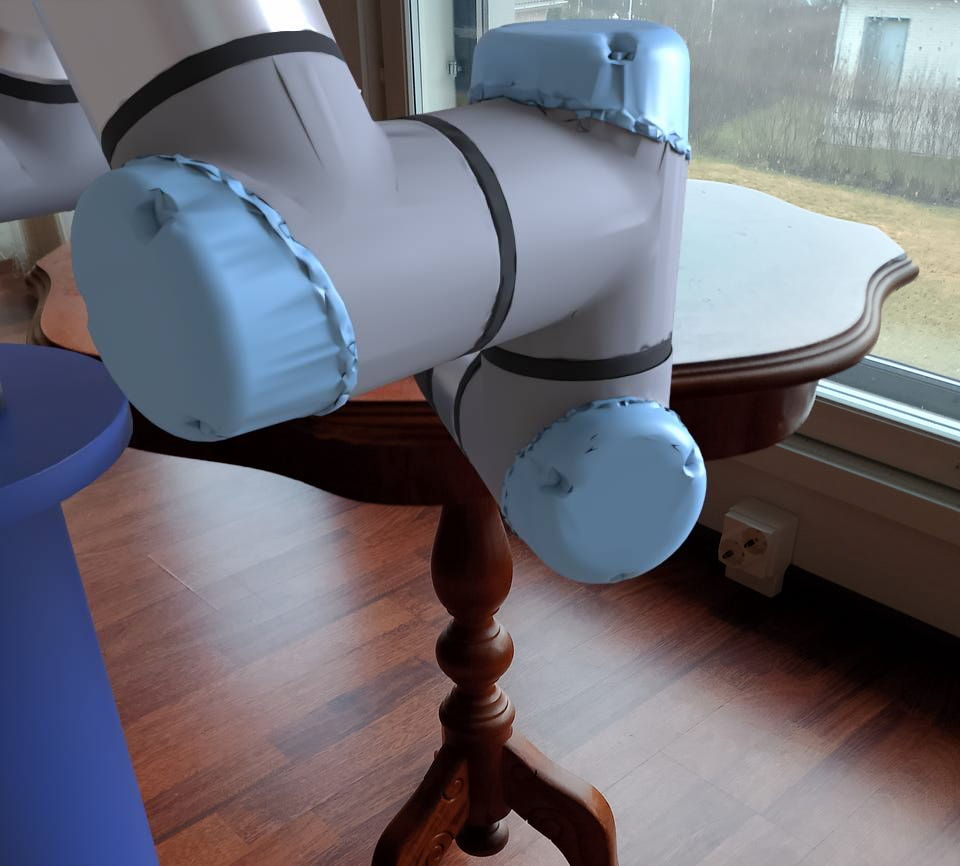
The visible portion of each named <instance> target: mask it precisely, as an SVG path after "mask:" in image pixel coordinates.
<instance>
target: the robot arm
mask: <svg viewBox="0 0 960 866" xmlns="http://www.w3.org/2000/svg"><path fill="white" fill-rule="evenodd" d="M331 29H332V28H331V27H330V24H329V23H328V20H327V18H326V15H325V13H324V11H323V8H322V6H321V4H320V1H319V0H0V224H4V223H10V222H16V221H21V220H22V221H23V220H27V219H31V218H38V217H43V216H49V215H54V214H61V213H65V212H67V213H69V212H73V217H72V220H71V226H70V237H69V242H70V259H71V269H72V275H73V278H74V283H75V288H76V290H77V291H78V293H79V294H80V296H81V297H82V300H83V302H84V304H85V308H86V313H87V322H86V328H87V331H88V333H89V336H90V338H91V341H92V342H93V344H94V347H95V349H96V352H97V353H98V356H99V357H100V359H101V362H102V363H104V365H105V367H106V368H107V370H108V372H109V373H110V375H111V377H112V378H113V380H114V381H115V382H116V384H117V385H118V386H119V388H120V389H121V390H122V392H123V393H124V394H125V396H126V397H127V399H128V401H129V403H130V404H131V405H132V406H134V408H135V409H136V410H137V411H138V412H140V414H142V415H143V416H144V418H146V419H147V420H148V421H150V422H151V424H154V425H155V426H156V427H158V428H159V429H161V430H163V431H165V432H166V433H169V434H171V435H173V436H174V437H178V438H181V439H183V440H188V441H192V442H211V443H212V442H218V441H223V440H227V439H231V438H233V437H236V436H241V435H244V434H246V433H249V432H253V431H257V430H260V429H263V428H266V427H270V426H273V425H276V424H280V423H283V422H288V421H290V420H294V419H301V418H305V417H309V416H312V415H313V416H318V417H323V416H325V415H328V414H330V413H332V412H334V411H337V410H338V409H339V408H340V407H342V406H343V405H345V404H346V402H347V401H348V400H351V399H353V398H356V397H358V396H361V395H365V394H366V393H369V392H372V391H374V390H377V389H380V388H382V387H385V386H388V385H390V384H392V383H393V384H394V383H396V382H398V381H401V380H403V379H406V378H409V377H411V376H412V377H413V379H414V381H415V383H416V385H417V387H418V389H419V391H420V392H421V395H422V396H423V398H424V399H425V401H426V402H427V403H428V405H429V406H430V407H431V409H432V410H433V412H434V413H435V414H436V416H437V418H438V419H439V420H440V421H441V423H442V424H443V425H444V426H445V428H446V429H447V431H448V432H449V434H450V435H451V437H452V438H453V440H454V442H455V443H456V445H457V446H458V447H459V449H460V450H461V452H462V453H463V455H464V456H465V458H467V460H468V461H469V464H470V465H471V466H472V467H473V468H474V469H475V470H476V472H477V474H478V476H479V477H480V479H481V481H482V482H483V483H484V485H485V486H486V488H487V490H488V491H489V493H490V495H492V497H493V499H494V501H495V502H496V504H497V505H498V507H499V509H500V512H501V514H502V517H505V518H504V522H505V523H506V524H507V525H508V526H509V528H510V530H511V531H512V533H513V534H514V535H515V536H516V537H517V538H518V539H520V540H521V541H523V542H525V544H526V545H527V546H528V547H529V548H530V550H531V551H532V552H533V553H534V554H535V555H536V556H537V558H539V560H540V561H541V562H542V563H543V564H544V565H545V566H546V567H548V568H549V569H550V570H552V571H553V572H555V573H556V574H558V575H560V576H562V577H564V578H566V579H569V580H572V581H574V582H579V583H582V584H589V585H600V584H601V585H602V584H616V583H619V582H622V581H626V580H629V579H633V578H636V577H639V576H641V575H643V574H645V573H648V572H649V571H651V570H653V569H654V568H656V567H657V566H659V565H661V564H662V563H663V562H664V561H666V560H667V559H668V558H669V557H671V556H672V555H673V554H674V553H675V552H676V551H677V550H678V549H679V548H680V547H681V545H682V544H683V543H684V542H685V540H687V538H688V536H689V535H690V533H691V532H692V530H693V528H694V526H695V525H696V522H697V521H698V519H699V516H700V514H701V512H702V509H703V505H704V501H705V499H706V498H705V497H706V493H707V492H706V491H707V471H706V468H705V467H706V466H705V463H704V458H703V456H702V453H701V450H700V447H699V446H698V444H697V442H695V439H694V437H693V436H692V435H691V433H690V432H689V431H688V428H687V427H686V425H685V424H684V423H683V422H682V419H681V416H680V415H679V414H678V413H677V412H675V411H674V410H671V409H670V396H671V382H672V372H673V371H672V370H673V360H674V359H673V358H674V347H673V343H672V341H673V332H674V323H675V312H676V301H677V289H678V278H679V268H680V257H681V245H682V236H683V235H682V234H683V223H684V214H685V204H686V191H687V182H688V181H687V180H688V172H689V171H688V170H689V165H690V162H691V160H692V146H691V145H690V142H689V115H690V114H689V111H690V110H689V109H690V108H689V107H690V75H691V74H690V73H691V65H690V64H691V59H690V53H689V49H688V46H687V44H686V42H685V41H684V38H682V37H681V36H680V34H679V33H678V32H677V31H675V30H674V29H673V28H671V27H670V26H668V25H665V24H662V23H659V22H656V21H655V22H654V21H647V20H639V19H619V18H565V19H564V18H563V19H546V20H533V21H521V22H514V23H513V22H512V23H506V24H503V25H501V26H498V27H493V28H490V29H489V30H487V31H486V32H485V33H483V34H482V35H481V36H480V37H479V39H478V40H477V42H476V44H475V47H474V51H473V55H472V66H471V75H470V76H471V78H470V87H469V88H468V89H467V102H468V104H466V105H461V106H456V107H451V108H444V109H440V110H433V111H428V112H423V113H415V114H409V115H403V116H397V117H394V118H389V119H386V120H378V121H377V120H376V121H375V120H373V119H372V117H371V114H370V112H369V109H368V108H367V106H366V103H365V101H364V98H363V96H362V94H361V93H360V91H359V89H360V88H359V87H358V86H357V83H356V81H355V78H354V77H353V75H352V73H351V70H350V69H349V67H348V64H347V62H346V60H345V57H344V55H343V53H342V50H341V48H340V46H339V44H338V43H337V42H336V39H335V37H334V33H333V32H332V30H331ZM5 406H6V401H5V397H4V393H3V390H2V386H1V383H0V416H1V415H2V413H3V412H4V409H5Z"/></svg>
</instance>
